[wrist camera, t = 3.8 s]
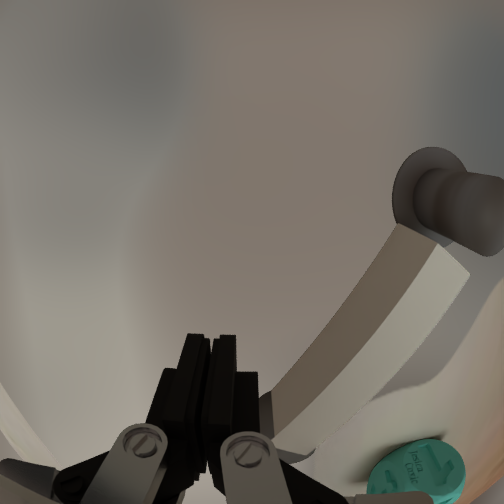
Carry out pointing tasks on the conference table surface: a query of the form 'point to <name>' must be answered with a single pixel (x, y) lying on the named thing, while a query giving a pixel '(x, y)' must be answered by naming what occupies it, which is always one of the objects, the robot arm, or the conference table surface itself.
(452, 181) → the brown and grey piece
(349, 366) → the leg
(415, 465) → the decorative dice
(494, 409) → the conference table surface
